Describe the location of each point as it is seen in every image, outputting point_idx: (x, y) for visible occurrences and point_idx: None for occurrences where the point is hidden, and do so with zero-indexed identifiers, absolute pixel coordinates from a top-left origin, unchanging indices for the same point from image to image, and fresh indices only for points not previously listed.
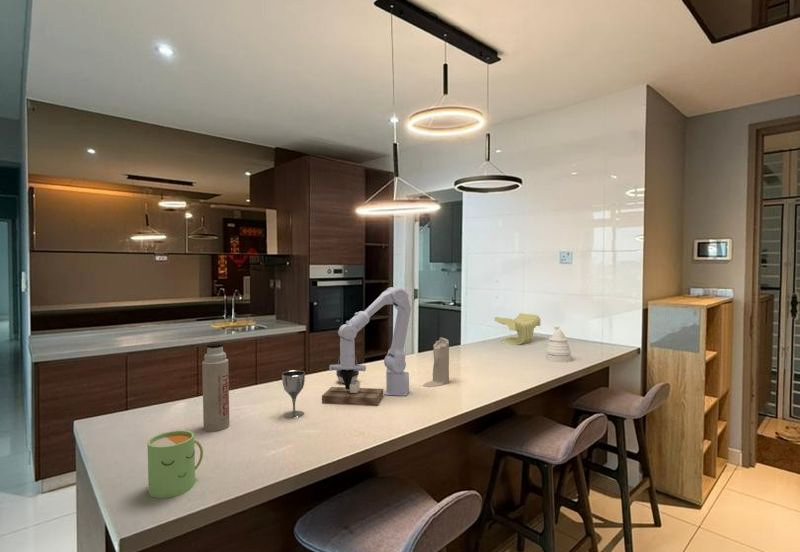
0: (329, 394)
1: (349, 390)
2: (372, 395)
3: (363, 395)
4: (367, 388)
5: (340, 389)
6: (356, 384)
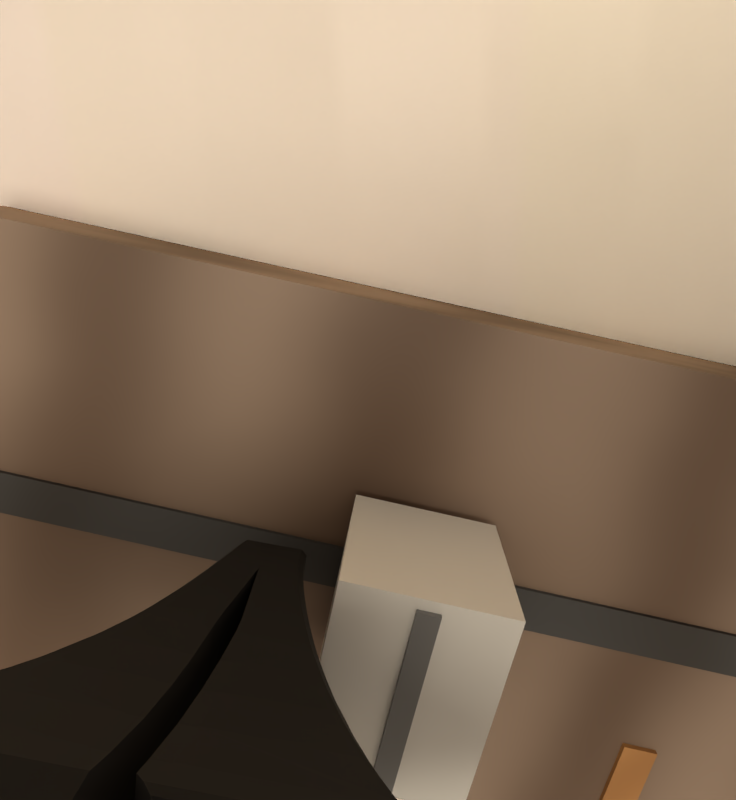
0: (7, 644)
1: (302, 475)
2: (697, 765)
3: (550, 747)
4: (657, 381)
5: (126, 401)
6: (448, 789)
